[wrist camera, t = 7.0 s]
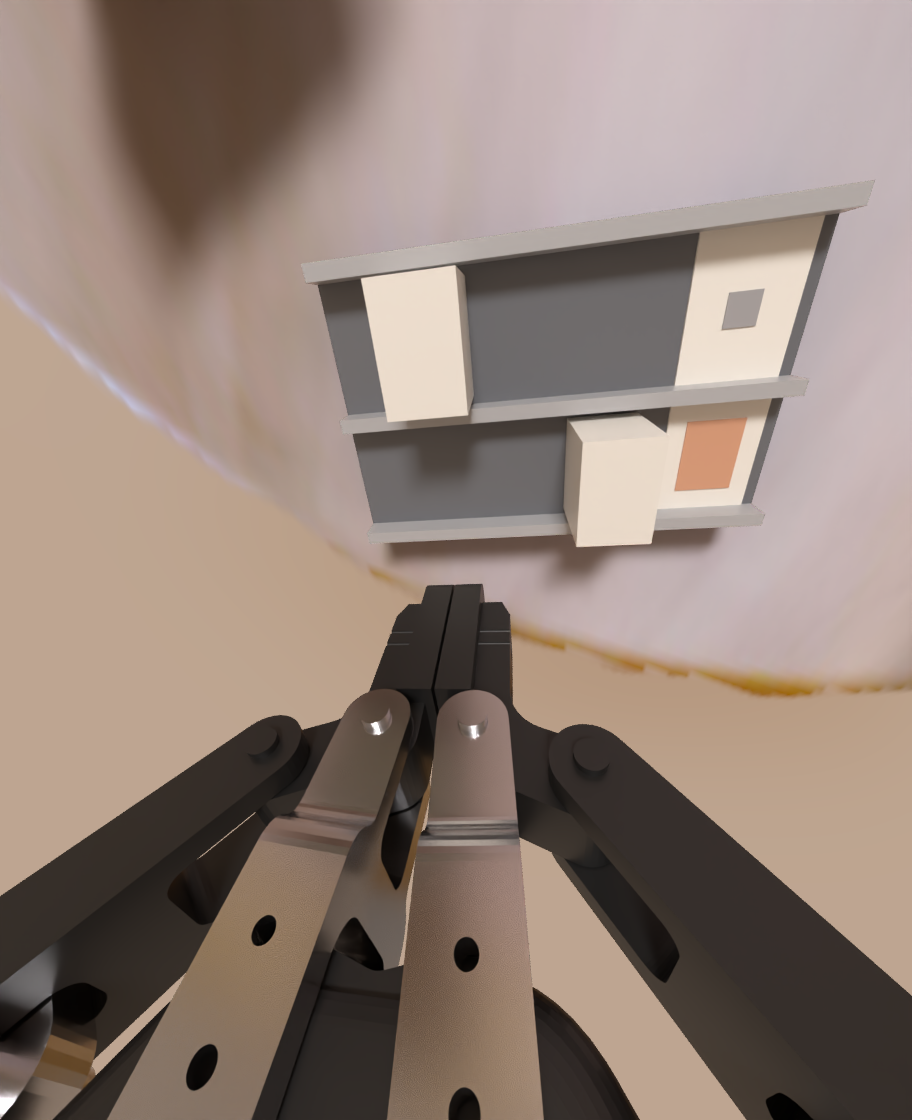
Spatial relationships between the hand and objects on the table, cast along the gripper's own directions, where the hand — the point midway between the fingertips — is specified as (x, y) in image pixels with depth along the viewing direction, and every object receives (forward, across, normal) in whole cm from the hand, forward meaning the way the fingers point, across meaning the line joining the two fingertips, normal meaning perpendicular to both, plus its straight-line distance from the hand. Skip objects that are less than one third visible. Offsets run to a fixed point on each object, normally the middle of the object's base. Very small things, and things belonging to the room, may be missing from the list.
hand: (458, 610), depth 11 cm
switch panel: (+12, -3, -3) cm, 13 cm away
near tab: (+10, +2, -6) cm, 12 cm away
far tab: (+10, -6, 0) cm, 12 cm away
